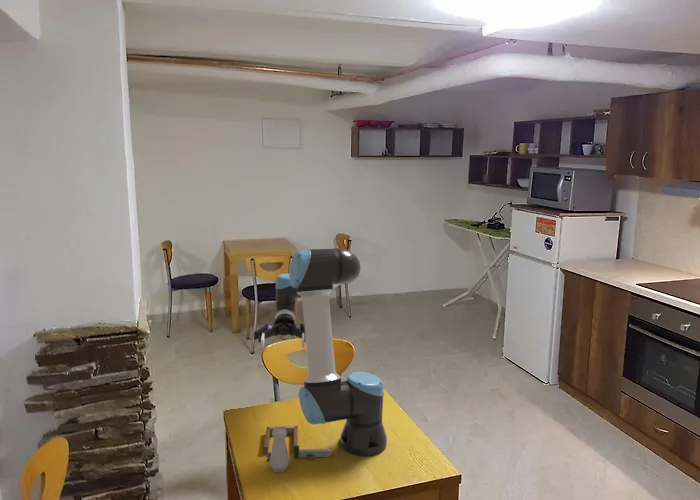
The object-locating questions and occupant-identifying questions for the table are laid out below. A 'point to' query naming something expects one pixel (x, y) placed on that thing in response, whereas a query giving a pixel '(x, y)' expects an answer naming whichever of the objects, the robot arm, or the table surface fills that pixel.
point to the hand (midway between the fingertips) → (282, 343)
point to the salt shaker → (279, 450)
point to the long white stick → (311, 452)
